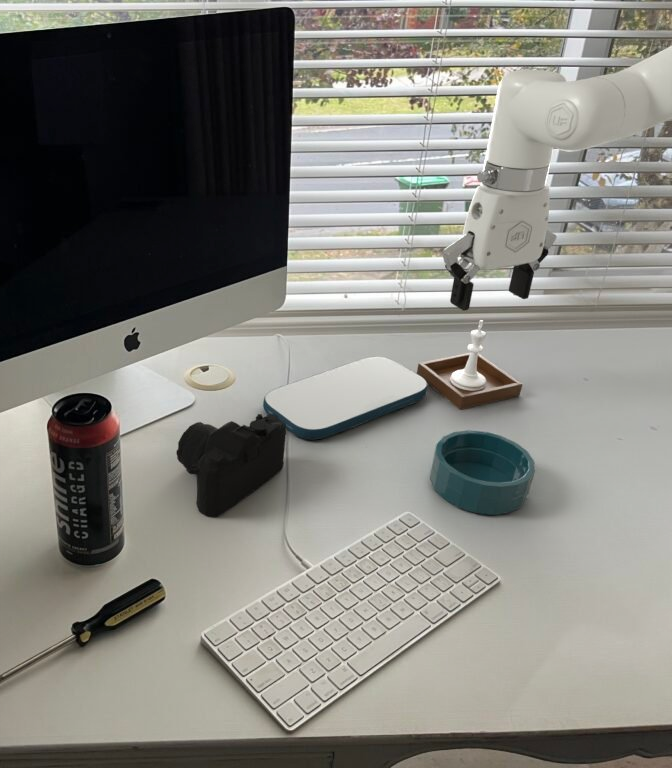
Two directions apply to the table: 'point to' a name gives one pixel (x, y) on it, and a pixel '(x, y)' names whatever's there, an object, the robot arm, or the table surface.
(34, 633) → the table surface
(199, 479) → the film camera
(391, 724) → the table surface
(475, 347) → the chess piece
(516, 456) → the dish
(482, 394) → the tray
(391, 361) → the external hard drive
